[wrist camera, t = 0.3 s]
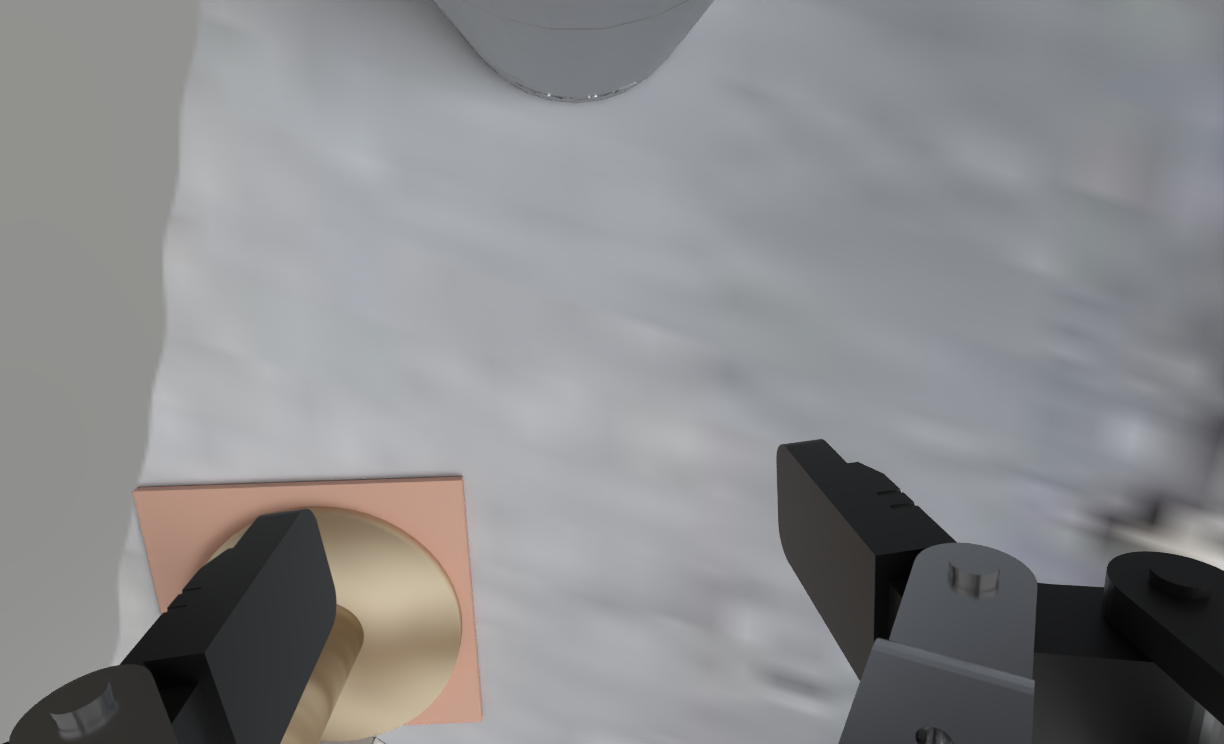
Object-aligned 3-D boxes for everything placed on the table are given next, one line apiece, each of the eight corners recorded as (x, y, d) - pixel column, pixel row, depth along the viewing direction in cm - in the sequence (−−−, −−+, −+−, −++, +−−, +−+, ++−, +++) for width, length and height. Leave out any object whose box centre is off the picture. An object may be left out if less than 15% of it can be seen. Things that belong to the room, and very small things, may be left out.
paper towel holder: (172, 511, 30) (-21, 674, 20) (451, 501, 30) (394, 654, 21) (221, 734, 33) (77, 965, 23) (471, 721, 34) (429, 942, 24)
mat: (138, 487, 30) (132, 491, 29) (462, 476, 30) (461, 480, 30) (194, 729, 33) (189, 736, 33) (482, 715, 34) (481, 721, 34)
